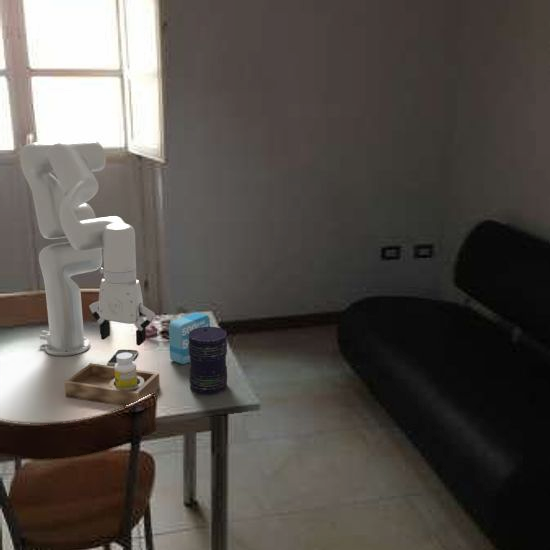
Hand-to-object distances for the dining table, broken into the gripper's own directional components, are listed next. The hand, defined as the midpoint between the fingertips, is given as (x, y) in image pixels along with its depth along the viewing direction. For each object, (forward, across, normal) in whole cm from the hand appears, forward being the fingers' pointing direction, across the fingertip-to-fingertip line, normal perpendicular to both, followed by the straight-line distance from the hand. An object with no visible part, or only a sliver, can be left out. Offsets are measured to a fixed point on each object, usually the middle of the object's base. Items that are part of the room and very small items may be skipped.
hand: (123, 340), depth 164 cm
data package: (+15, +7, +25) cm, 30 cm away
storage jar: (+14, +19, +9) cm, 26 cm away
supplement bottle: (+14, +1, -1) cm, 14 cm away
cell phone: (+16, -10, +17) cm, 26 cm away
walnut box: (+14, -3, -1) cm, 15 cm away
